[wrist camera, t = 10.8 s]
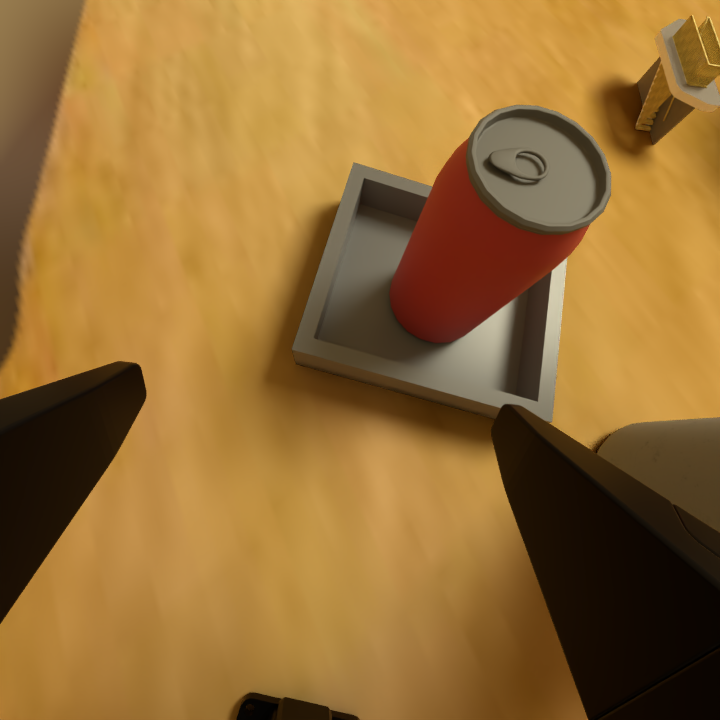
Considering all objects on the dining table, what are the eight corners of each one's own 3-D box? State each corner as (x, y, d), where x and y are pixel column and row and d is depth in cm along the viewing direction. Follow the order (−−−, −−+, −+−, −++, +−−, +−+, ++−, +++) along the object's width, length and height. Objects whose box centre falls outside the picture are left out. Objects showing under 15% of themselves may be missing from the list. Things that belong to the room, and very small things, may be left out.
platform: (594, 183, 30) (667, 114, 24) (566, 42, 34) (621, -49, 28) (708, 197, 31) (806, 134, 25) (667, 58, 36) (741, -24, 29)
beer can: (389, 255, 24) (453, 78, 12) (475, 266, 24) (614, 107, 13) (385, 341, 22) (455, 229, 11) (478, 350, 23) (640, 254, 11)
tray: (517, 425, 23) (552, 422, 19) (295, 363, 22) (291, 349, 19) (538, 256, 27) (569, 229, 23) (349, 198, 26) (353, 162, 22)
